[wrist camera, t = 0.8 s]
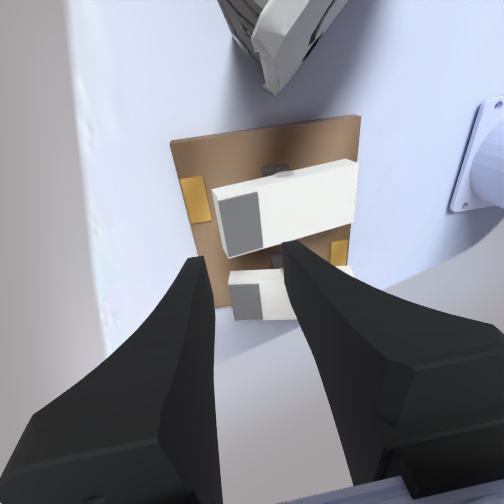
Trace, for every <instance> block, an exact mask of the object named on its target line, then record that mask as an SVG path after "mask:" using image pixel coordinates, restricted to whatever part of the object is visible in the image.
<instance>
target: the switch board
mask: <svg viewBox="0 0 504 504" xmlns="http://www.w3.org/2000/svg"><path fill="white" fill-rule="evenodd" d="M360 124H361V116H357V115H347V116H340V117H333V118H326V119H319V120H312V121H305V122H298V123H291V124H284V125H277V126H270V127H263V128H256V129H249V130H242V131H235V132H228V133H221V134H214V135H207V136H200V137H193V138H186V139H179V140H172V141H171V142H170V148H171V152H172V155H173V159H174V163H175V167H176V171H177V175H178V179H179V183H180V186H181V190H182V194H183V198H184V202H185V206H186V210H187V214H188V218H189V221H190V225H191V229H192V233H193V237H194V241H195V245H196V249H197V252H198V256H204V259H205V263H206V267H207V271H208V275H209V279H210V283H211V287H212V291H213V296H214V307H215V308H220V307H226V306H232V303H231V298H230V293H229V288H228V280H229V276H230V271H243V270H265V269H282V268H283V255H282V243H281V244H278V245H275V246H271V247H268V248H264V249H261V250H257V251H254V252H251V253H247V254H244V255H240V256H237V257H234V258H230V259H228V257H227V255H226V253H225V251H224V249H223V246H222V241H221V236H220V231H219V225H218V220H217V215H216V210H215V205H214V200H213V195H212V190H211V189H215V188H219V187H223V186H228V185H232V184H237V183H241V182H245V181H250V180H254V179H258V178H263V177H267V176H272V175H274V174H275V173H277V172H281V171H294V170H298V169H302V168H307V167H311V166H316V165H320V164H324V163H329V162H333V161H337V160H342V159H348V160H351V161H354V162H357V155H358V145H359V134H360ZM350 228H351V223H350V224H346V225H343V226H340V227H336V228H333V229H329V230H326V231H322V232H319V233H316V234H312V235H309V236H305V237H302V238H299V239H295V240H298V241H299V242H301V243H302V244H303V245H305V246H306V247H307V248H309V249H310V250H312V251H313V252H314V253H316V254H317V255H319V256H320V257H321V258H323V259H324V260H326V261H327V262H329V263H330V264H332V265H334V266H347V259H348V249H349V238H350ZM292 241H293V240H292Z"/></svg>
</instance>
